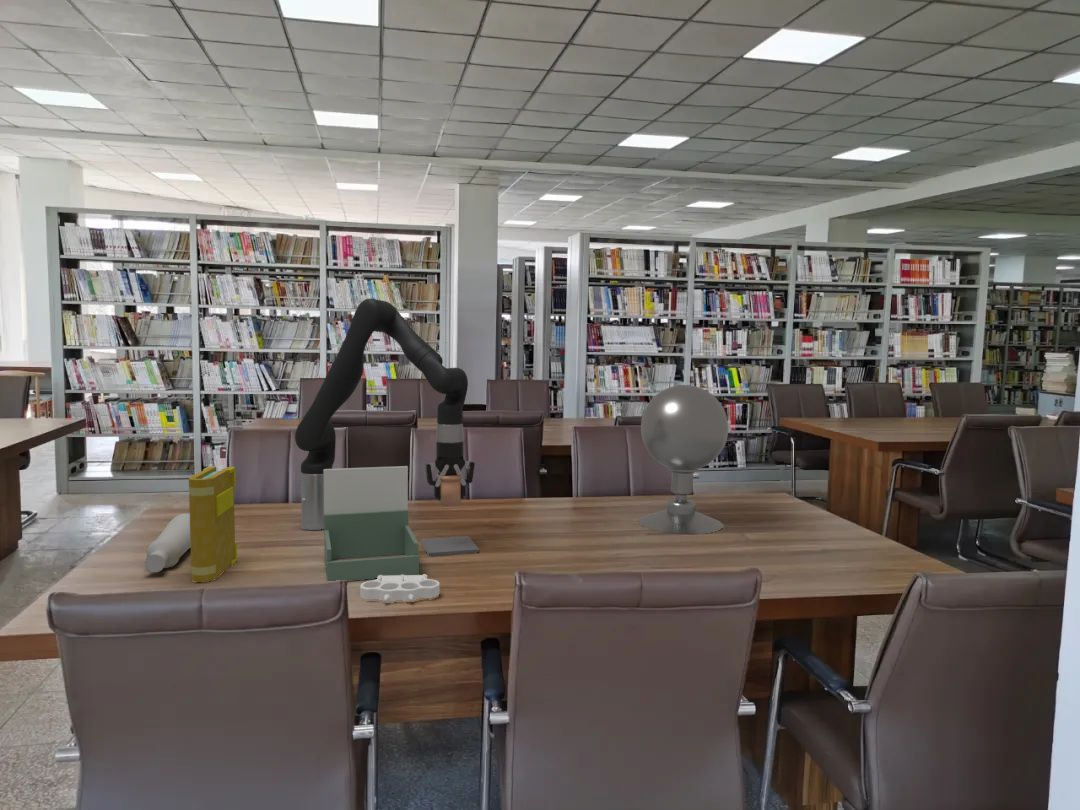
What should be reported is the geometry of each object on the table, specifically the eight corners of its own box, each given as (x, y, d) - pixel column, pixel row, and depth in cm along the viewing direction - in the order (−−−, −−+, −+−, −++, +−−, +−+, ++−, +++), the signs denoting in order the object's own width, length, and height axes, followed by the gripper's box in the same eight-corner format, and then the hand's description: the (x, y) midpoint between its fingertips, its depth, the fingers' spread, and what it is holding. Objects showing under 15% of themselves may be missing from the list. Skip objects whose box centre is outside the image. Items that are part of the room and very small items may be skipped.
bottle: (163, 532, 210) (126, 569, 180) (181, 505, 210) (148, 538, 180) (192, 548, 212) (161, 588, 183) (211, 522, 212) (182, 557, 183)
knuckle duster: (440, 584, 182) (439, 606, 167) (365, 585, 180) (357, 608, 165) (440, 570, 182) (439, 591, 167) (364, 572, 180) (356, 593, 165)
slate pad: (428, 556, 203) (428, 553, 203) (420, 542, 216) (420, 539, 216) (479, 552, 207) (479, 549, 207) (468, 539, 220) (468, 535, 220)
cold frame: (327, 583, 180) (326, 485, 178) (324, 557, 200) (323, 469, 197) (418, 575, 187) (419, 480, 185) (407, 551, 207) (407, 466, 204)
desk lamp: (628, 527, 236) (632, 385, 232) (649, 509, 262) (653, 380, 257) (716, 538, 226) (723, 390, 222) (729, 518, 252) (735, 384, 247)
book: (210, 561, 195) (208, 466, 193) (237, 561, 196) (235, 466, 193) (185, 583, 178) (182, 479, 176) (214, 582, 179) (212, 479, 176)
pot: (440, 507, 206) (440, 477, 205) (436, 501, 212) (436, 473, 211) (464, 505, 208) (464, 476, 207) (459, 500, 214) (459, 472, 213)
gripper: (472, 436, 214) (472, 494, 216) (422, 438, 210) (422, 497, 211) (478, 440, 207) (477, 500, 209) (426, 442, 203) (426, 503, 204)
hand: (449, 498), depth 210 cm, fingers closed on pot, 6 cm apart
